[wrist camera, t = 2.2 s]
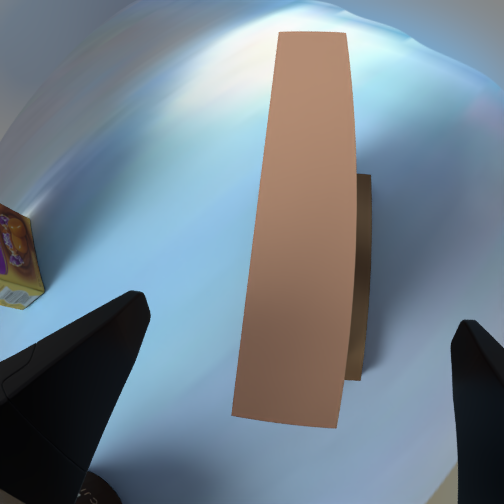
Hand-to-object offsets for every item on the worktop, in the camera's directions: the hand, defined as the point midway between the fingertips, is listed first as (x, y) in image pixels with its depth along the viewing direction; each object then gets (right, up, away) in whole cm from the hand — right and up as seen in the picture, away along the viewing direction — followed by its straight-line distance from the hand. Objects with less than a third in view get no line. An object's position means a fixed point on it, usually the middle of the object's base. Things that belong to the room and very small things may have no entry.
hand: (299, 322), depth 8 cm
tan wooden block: (+1, +2, +5) cm, 6 cm away
